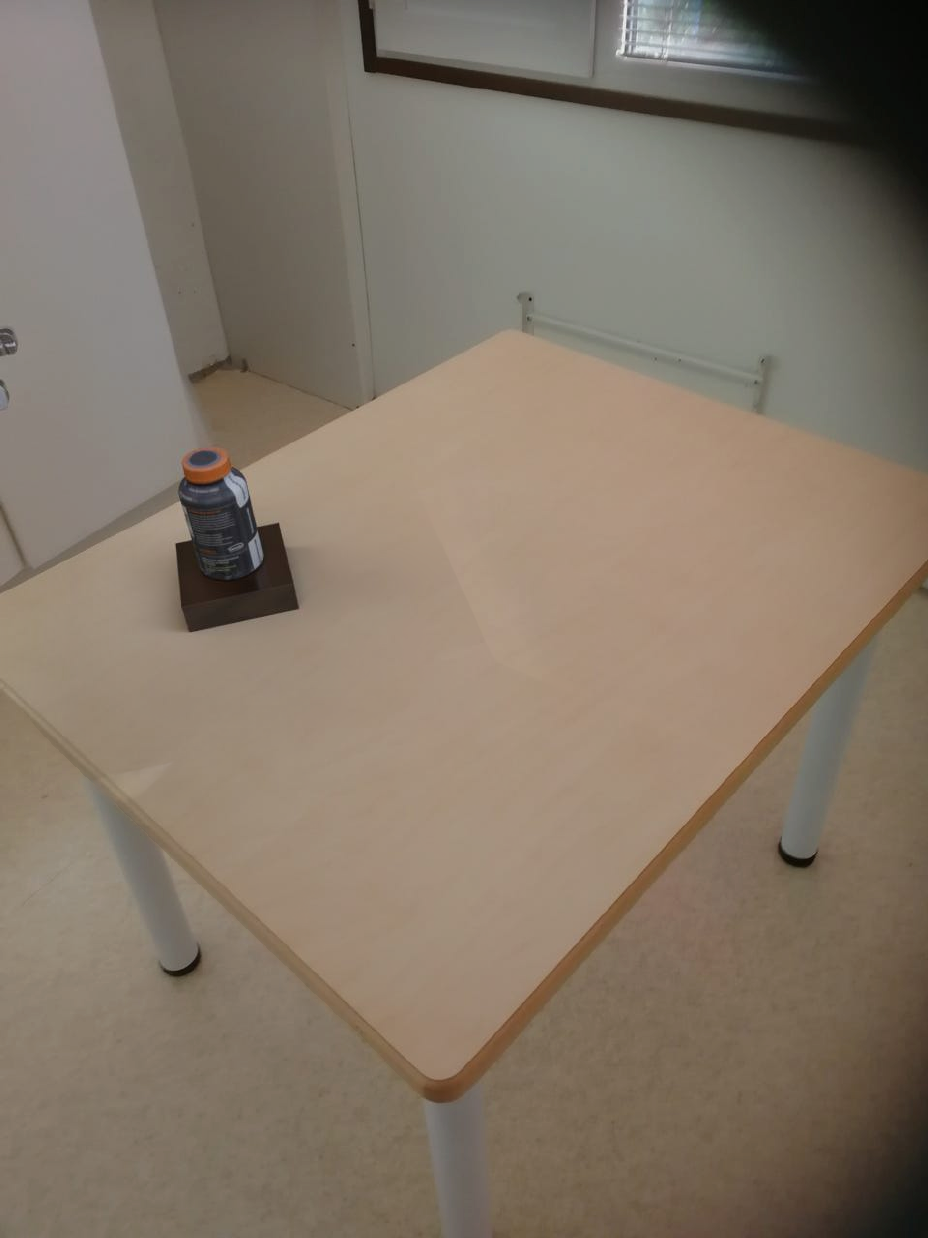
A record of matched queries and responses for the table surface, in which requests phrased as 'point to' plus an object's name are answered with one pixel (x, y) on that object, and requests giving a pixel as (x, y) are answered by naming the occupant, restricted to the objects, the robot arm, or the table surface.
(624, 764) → the table surface
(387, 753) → the table surface
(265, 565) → the walnut stand
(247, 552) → the pill bottle
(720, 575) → the table surface
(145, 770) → the table surface
